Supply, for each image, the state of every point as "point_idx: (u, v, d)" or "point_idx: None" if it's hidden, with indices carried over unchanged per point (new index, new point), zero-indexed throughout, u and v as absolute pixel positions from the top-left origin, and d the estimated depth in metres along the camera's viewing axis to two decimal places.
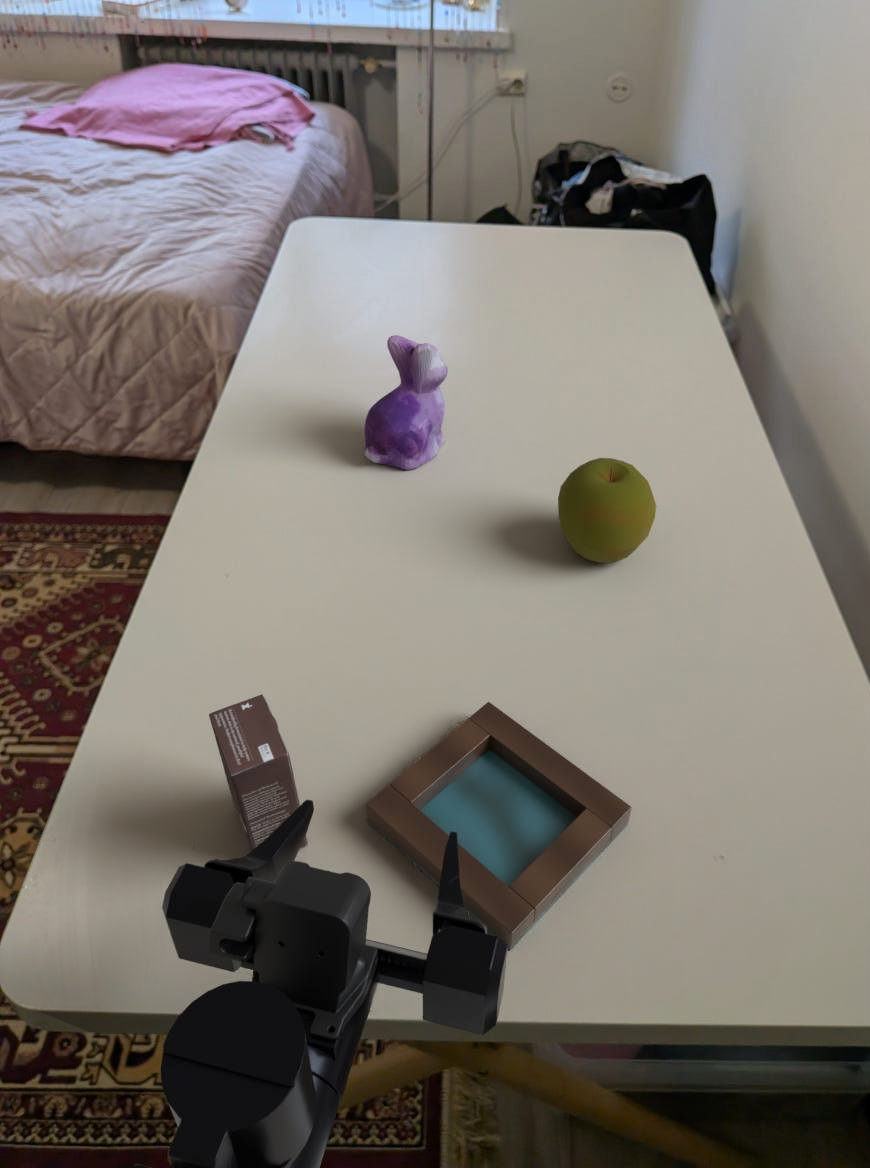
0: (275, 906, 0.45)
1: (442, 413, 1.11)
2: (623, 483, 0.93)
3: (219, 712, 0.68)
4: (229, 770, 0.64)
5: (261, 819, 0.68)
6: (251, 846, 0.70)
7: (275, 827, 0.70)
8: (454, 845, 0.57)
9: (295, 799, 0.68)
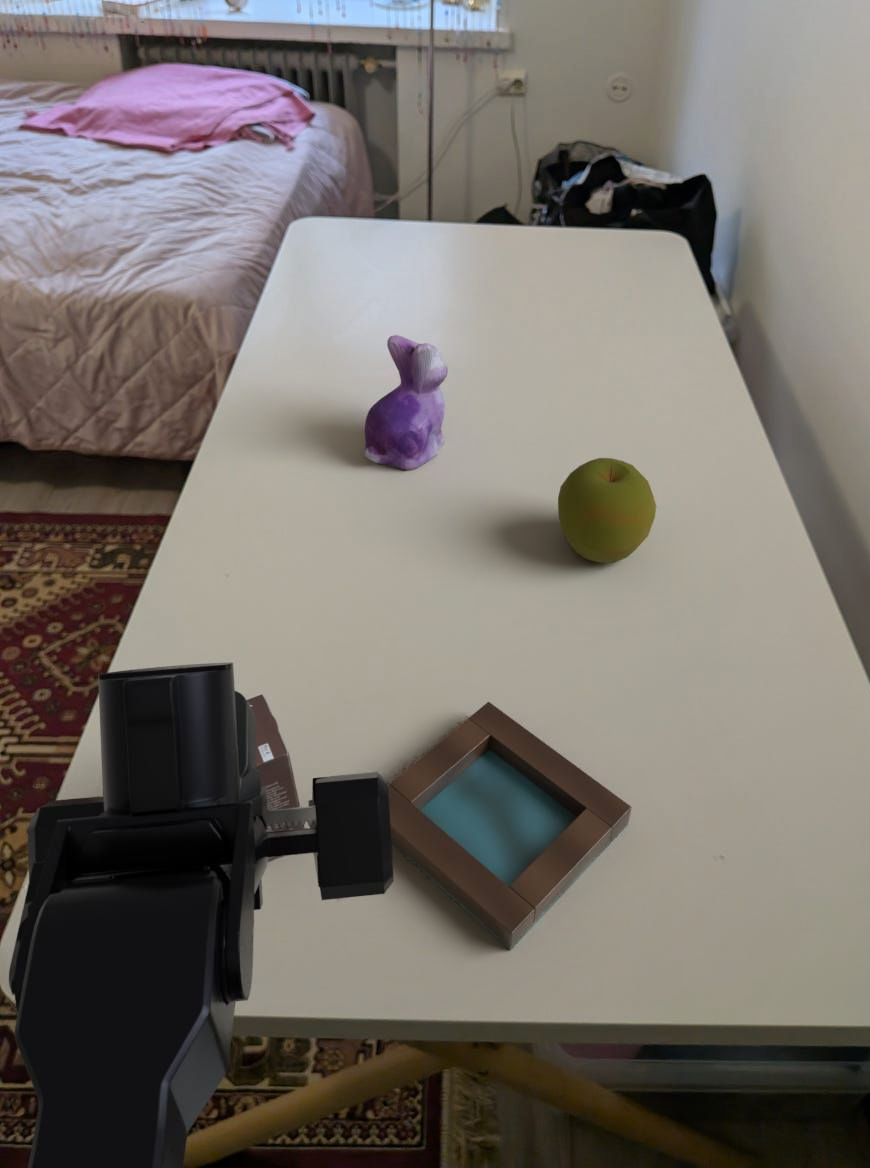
0: None
1: (442, 413, 1.11)
2: (623, 483, 0.93)
3: None
4: None
5: None
6: None
7: (275, 827, 0.70)
8: None
9: (295, 799, 0.69)
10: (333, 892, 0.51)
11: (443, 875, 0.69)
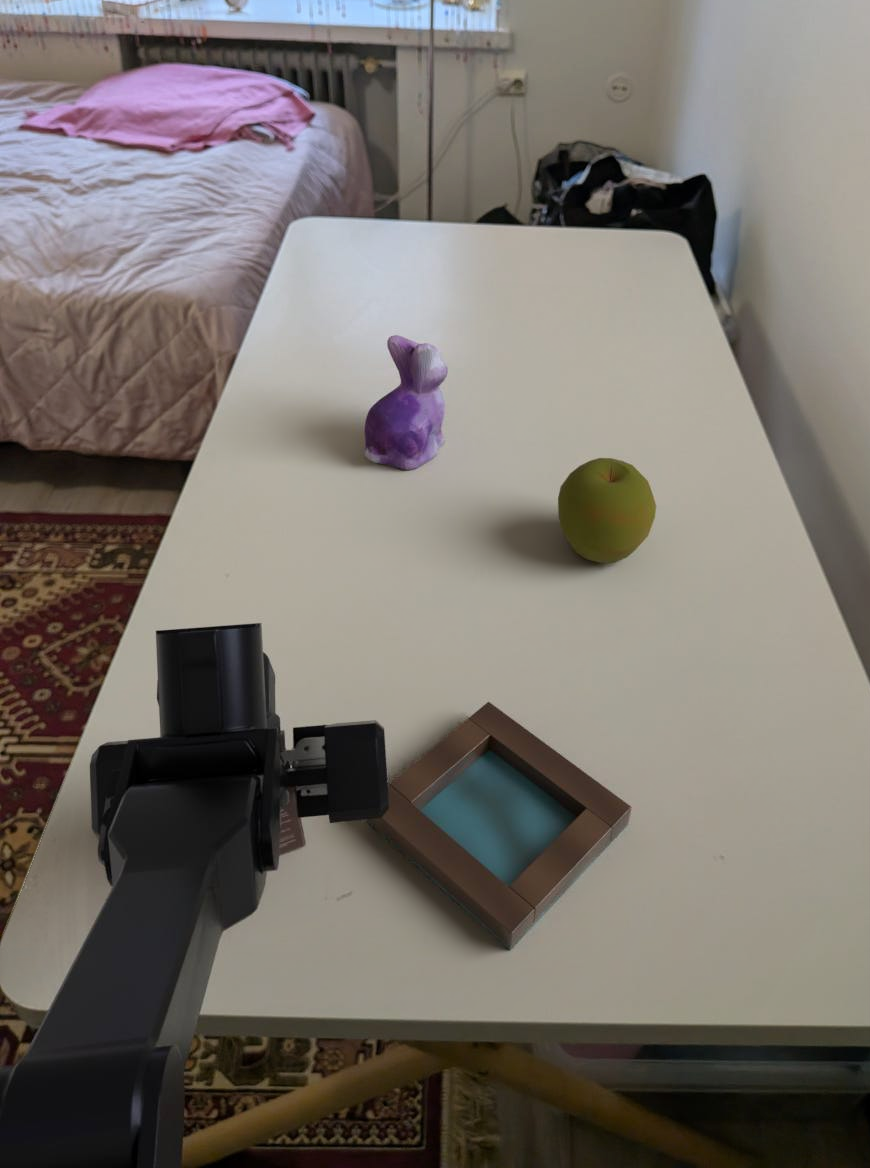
0: None
1: (442, 413, 1.11)
2: (623, 483, 0.93)
3: None
4: None
5: None
6: None
7: None
8: None
9: (293, 798, 0.69)
10: (339, 816, 0.62)
11: (443, 875, 0.69)
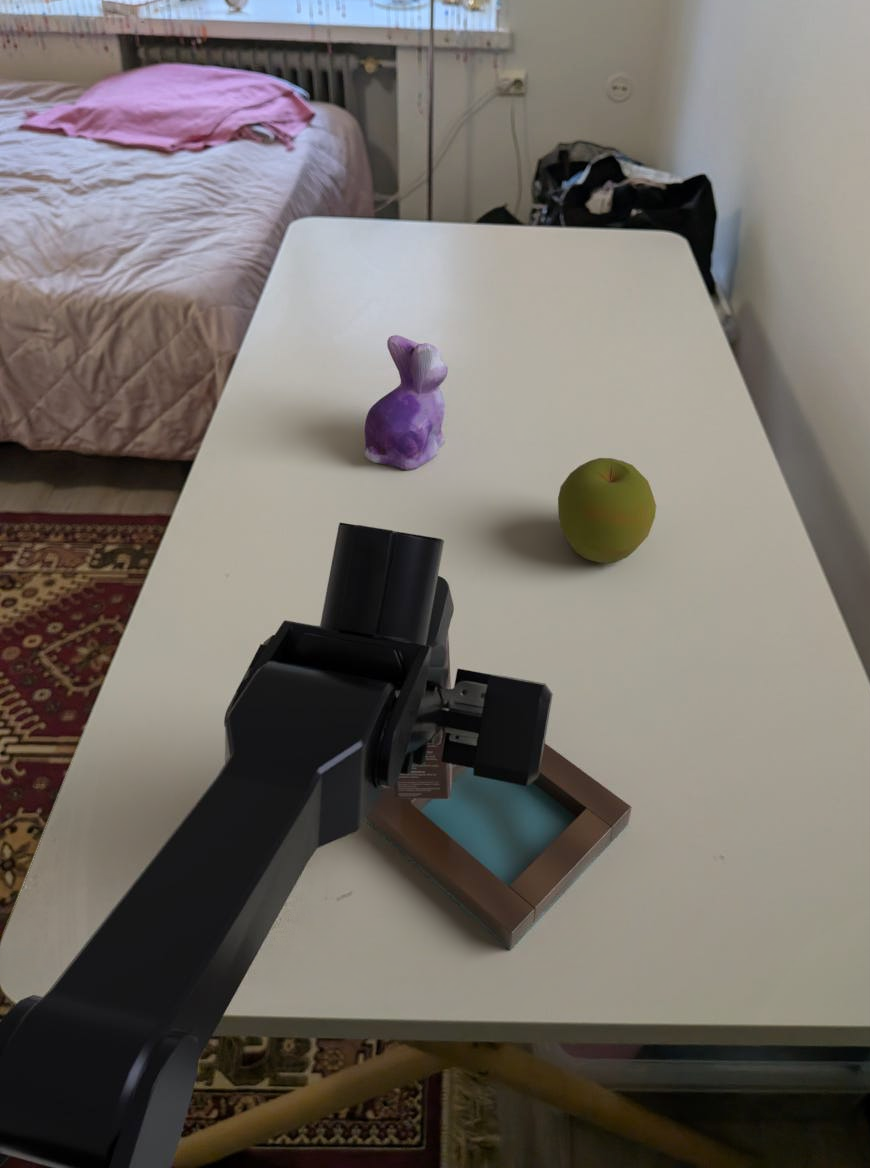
0: None
1: (442, 413, 1.11)
2: (623, 483, 0.93)
3: None
4: None
5: None
6: None
7: (419, 765, 0.67)
8: None
9: None
10: (484, 771, 0.58)
11: (443, 875, 0.69)
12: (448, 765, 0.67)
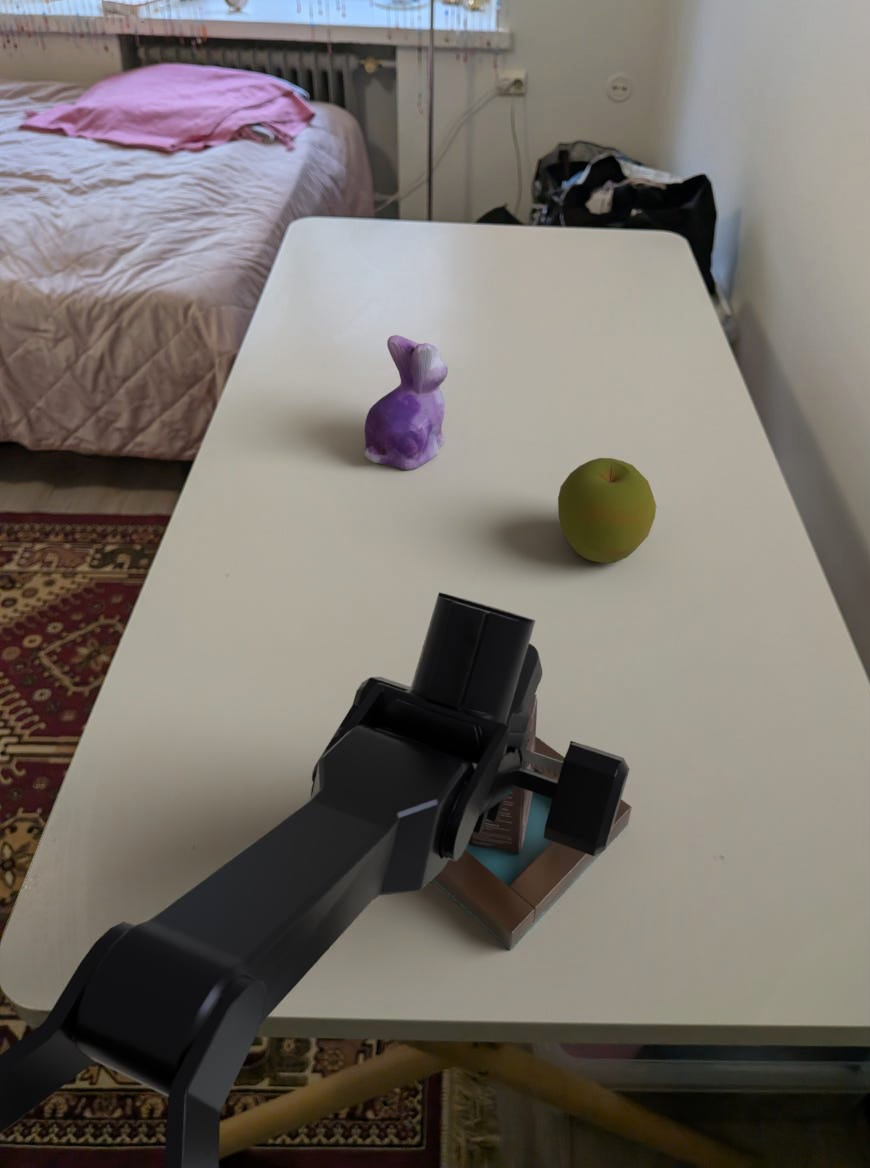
0: None
1: (442, 413, 1.11)
2: (623, 483, 0.93)
3: None
4: None
5: None
6: None
7: None
8: None
9: (519, 804, 0.68)
10: (554, 835, 0.60)
11: (443, 875, 0.69)
12: (521, 824, 0.70)
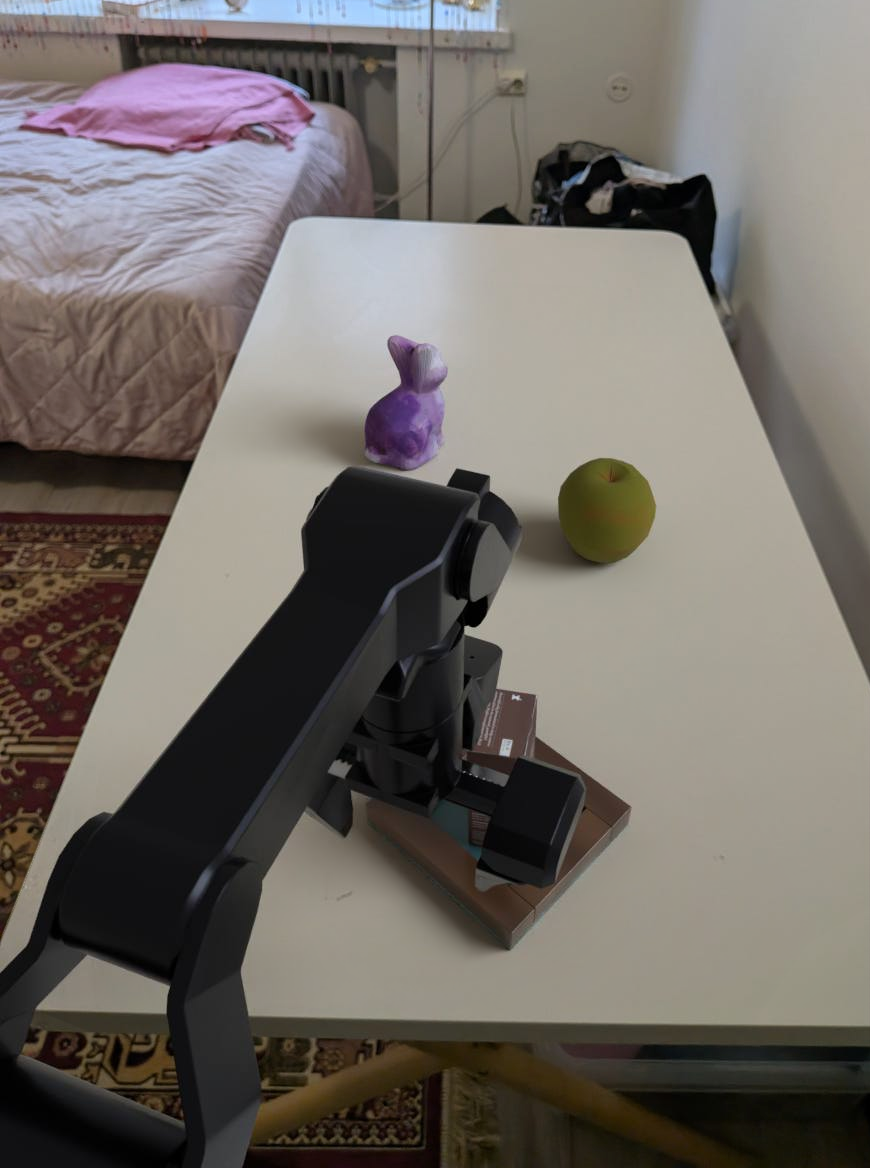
0: None
1: (442, 413, 1.11)
2: (623, 483, 0.93)
3: None
4: None
5: None
6: (468, 823, 0.71)
7: None
8: None
9: None
10: (497, 838, 0.48)
11: (443, 875, 0.69)
12: None
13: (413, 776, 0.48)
